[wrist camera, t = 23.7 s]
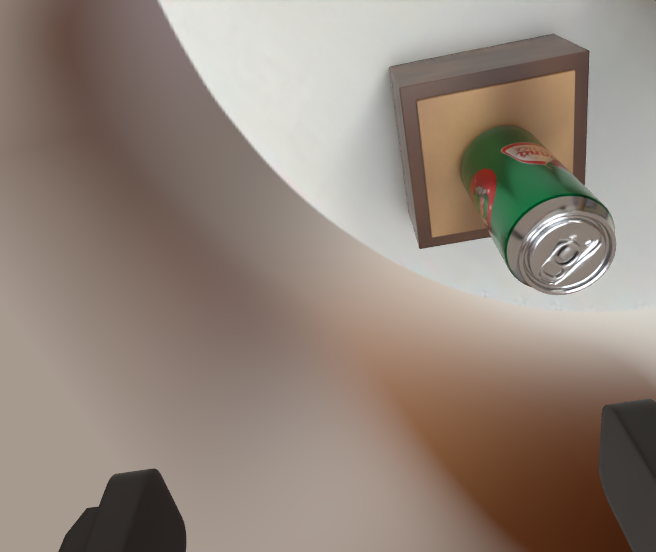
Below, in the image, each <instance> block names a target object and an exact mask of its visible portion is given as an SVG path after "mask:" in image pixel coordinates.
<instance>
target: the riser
mask: <svg viewBox="0 0 656 552" xmlns="http://www.w3.org/2000/svg"><path fill="white" fill-rule="evenodd" d="M389 69H390V77H391V84H392V92H393V99H394V107H395V114H396V122H397V129H398V137H399V144H400V152H401V159H402V167H403V174H404V182H405V189H406V196H407V204H408V211H409V215H410V218H411V222H412V225H413V228H414V232H415V235H416V238H417V242H418V245H419V248H420V249H422V248H428V247H434V246H440V245H446V244H452V243H457V242H463V241H469V240H475V239H481V238H487V237H491V235H490V233H489V232H488V230H487V228H486V226H485V224H484V222H483V221H482V219H481V217H480V215H479V213H478V211H477V210H476V208H475V206H474V204H473V202H472V200H471V199H470V197H469V195H468V193H467V191H466V189H465V187H464V185H463V183H462V180H461V175H460V165H461V161H462V157H463V155H464V153H465V151H466V149H467V147H468V146H469V145H470V144H471V142H472V141H473V140H474V139H475V138H476V137H478V136H479V135H480V134H482V133H483V132H485V131H487V130H489V129H492V128H494V127H499V126H507V125H510V126H517V127H521V128H523V129H525V130H527V131H529V132H530V133H531V134H533V135H534V136H535V137H536V138H537V139H538V140H539V141H540V142H541V143H542V144H543V145H544V146H545V147H546V148H547V149H548V150H549V151H550V152H551V153H552V154H553V155H554V156H555V157H556V158H557V159H558V160H559V161H560V162H561V163H562V164H563V165H564V166H565V167H566V168H567V169H568V170H569V171H570V172H571V173H572V174H573V175H574V176H575V177H576V178H577V179H578V180H579V181H580V182H581V183H582V184H583V185H584V186H585V165H586V135H587V105H588V75H589V50H587V49H584V48H582V47H580V46H578V45H576V44H574V43H572V42H570V41H568V40H566V39H564V38H561V37H559V36H557V35H555V34H551V35H546V36H541V37H536V38H531V39H526V40H521V41H516V42H511V43H506V44H501V45H496V46H491V47H486V48H481V49H476V50H471V51H466V52H461V53H456V54H451V55H446V56H441V57H436V58H431V59H426V60H421V61H416V62H411V63H406V64H401V65H396V66H391V67H390V68H389Z"/></svg>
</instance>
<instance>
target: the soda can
mask: <svg viewBox="0 0 656 552" xmlns="http://www.w3.org/2000/svg"><path fill="white" fill-rule="evenodd" d="M460 175H461V180H462V183H463V185H464V187H465V189H466V191H467V193H468V195H469V197H470V199H471V200H472V202H473V204H474V206H475V208H476V210H477V211H478V213H479V215H480V217H481V219H482V221H483V222H484V224H485V226H486V228H487V230H488V232H489V233H490V235H491V237H492V239H493V241H494V243H495V245H496V246H497V248H498V250H499V252H500V254H501V256H502V257H503V259H504V261H505V263H506V265H507V267H508V268H509V270H510V272H511V273H512V274H513V276H514V277H515V278H517V279H518V280H519V281H520V282H522V283H523V284H525V285H528V286H530V287H533V288H534V289H536V290H538V291H540V292H543V293H546V294H552V295H564V294H570V293H574V292H577V291H580V290H582V289H584V288H586V287H588V286H590V285H591V284H593V283H594V282H595V281H597V280H598V279H599V278H600V277H601V276H602V275H603V274H604V273H605V272H606V270H607V269H608V268H609V266H610V264H611V263H612V260H613V258H614V255H615V251H616V238H615V227H614V222H613V219H612V216H611V214H610V213H609V211H608V209H607V208H606V207H605V206H604V205H603V204H602V203H601V202H600V201H599V200H598V199H597V198H596V197H595V196H594V195H593V194H592V193H591V192H590V191H589V190H588V189H587V188H586V187H585V186H584V185H583V184H582V183H581V182H580V181H579V180H578V179H577V178H576V177H575V176H574V175H573V174H572V173H571V172H570V171H569V170H568V169H567V168H566V167H565V166H564V165H563V164H562V163H561V162H560V161H559V160H558V159H557V158H556V157H555V156H554V155H553V154H552V153H551V152H550V151H549V150H548V149H547V148H546V147H545V146H544V145H543V144H542V143H541V142H540V141H539V140H538V139H537V138H536V137H535V136H534V135H533V134H531V133H530V132H529V131H527V130H525V129H523V128H521V127H517V126H510V125H507V126H499V127H494V128H492V129H489V130H487V131H485V132H483V133H482V134H480V135H479V136H478V137H476V138H475V139H474V140H473V141H472V142H471V144H470V145H469V146H468V147H467V149H466V151H465V153H464V155H463V157H462V161H461V165H460Z"/></svg>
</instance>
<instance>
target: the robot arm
mask: <svg viewBox="0 0 656 552" xmlns="http://www.w3.org/2000/svg"><path fill="white" fill-rule="evenodd" d="M599 473H600V478H601V483H602V486H603V490H604V493H605V495H606V498H607V500H608V502H609V504H610V506H611V509H612V511H613V513H614V514H615V517H616V519H617V521H618V523H619V525H620V527H621V529H622V530H623V533H624V535H625V537H626V539H627V541H628V543H629V545H630V547H631V549H632V551H633V552H656V402H655V401H654V400H652V399H644V400H637V401H631V402H624V403H617V404H610V405H605V406H604V407H603V410H602V420H601V437H600V451H599ZM59 552H186V530H185V525H184V521H183V519H182V516H181V514H180V513H179V510H178V508H177V506H176V504H175V502H174V500H173V498H172V496H171V494H170V492H169V490H168V488H167V486H166V484H165V482H164V480H163V478H162V476H161V474H160V473H159V471H158V470H157V469H147V470H140V471H133V472H126V473H119V474H115V475H113V476H112V477H111V478H110V480H109V482H108V484H107V486H106V489H105V491H104V494H103V497H102V499H101V502H100V505H99V507H92V508H87V509H86V510H85V511H84V513H83V514H82V515H81V516H80V518H79V519H78V520H77V521H76V523H75V524H74V525H73V526H72V528H71V529H70V530H69V531H68V533H67V534H66V535H65V537H64V540H63V542H62V545H61V547H60V549H59Z"/></svg>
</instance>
